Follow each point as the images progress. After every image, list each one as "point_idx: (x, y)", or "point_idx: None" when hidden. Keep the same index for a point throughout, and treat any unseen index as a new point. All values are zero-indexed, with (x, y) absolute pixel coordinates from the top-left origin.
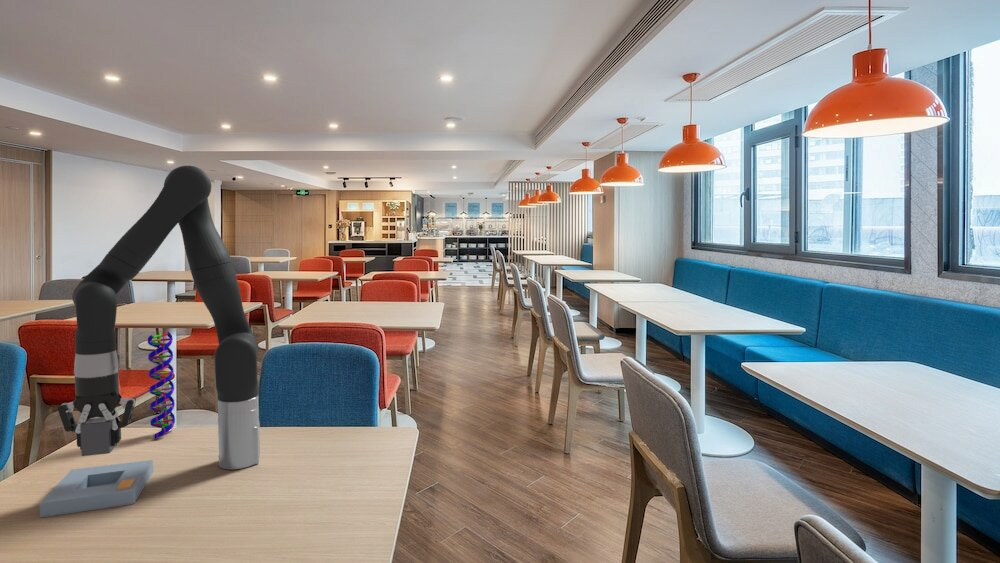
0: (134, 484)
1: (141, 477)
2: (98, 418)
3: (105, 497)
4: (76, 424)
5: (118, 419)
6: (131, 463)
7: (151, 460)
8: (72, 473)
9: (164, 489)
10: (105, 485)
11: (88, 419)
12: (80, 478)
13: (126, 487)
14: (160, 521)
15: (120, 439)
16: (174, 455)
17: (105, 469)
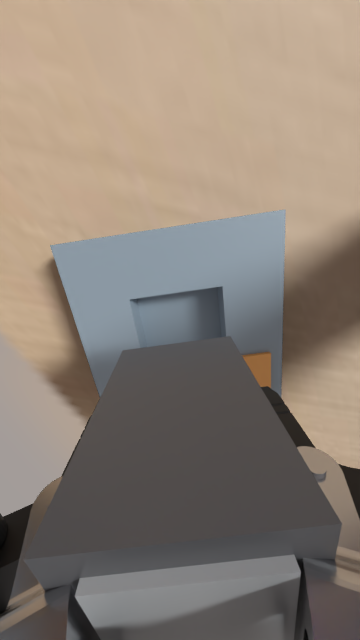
0: (274, 376)
1: (281, 342)
2: (189, 627)
3: None
4: (12, 575)
5: (356, 537)
6: (223, 230)
7: (282, 216)
8: (75, 278)
9: (315, 332)
10: (177, 299)
11: (90, 630)
12: (121, 318)
13: None
14: (325, 443)
15: (274, 396)
16: (309, 58)
17: (160, 267)
